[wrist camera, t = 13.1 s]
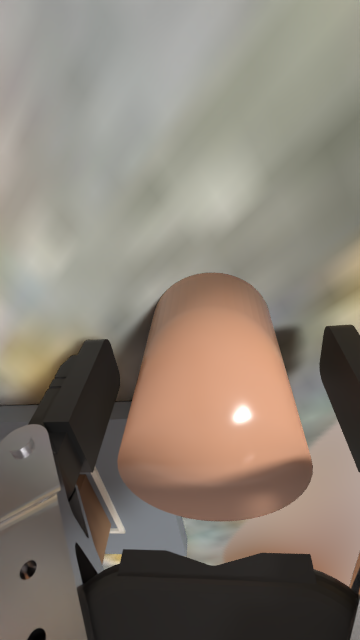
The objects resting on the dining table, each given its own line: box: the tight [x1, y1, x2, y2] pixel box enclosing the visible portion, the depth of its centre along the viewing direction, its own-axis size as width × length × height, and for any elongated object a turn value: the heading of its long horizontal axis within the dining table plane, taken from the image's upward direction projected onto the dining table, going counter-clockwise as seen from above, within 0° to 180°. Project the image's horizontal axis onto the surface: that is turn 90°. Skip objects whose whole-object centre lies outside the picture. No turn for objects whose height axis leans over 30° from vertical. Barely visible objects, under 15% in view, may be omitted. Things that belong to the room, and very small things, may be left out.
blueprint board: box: [0, 402, 187, 556], centre depth 19 cm, size 14×14×1 cm
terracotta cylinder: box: [117, 273, 313, 521], centre depth 10 cm, size 4×4×6 cm
